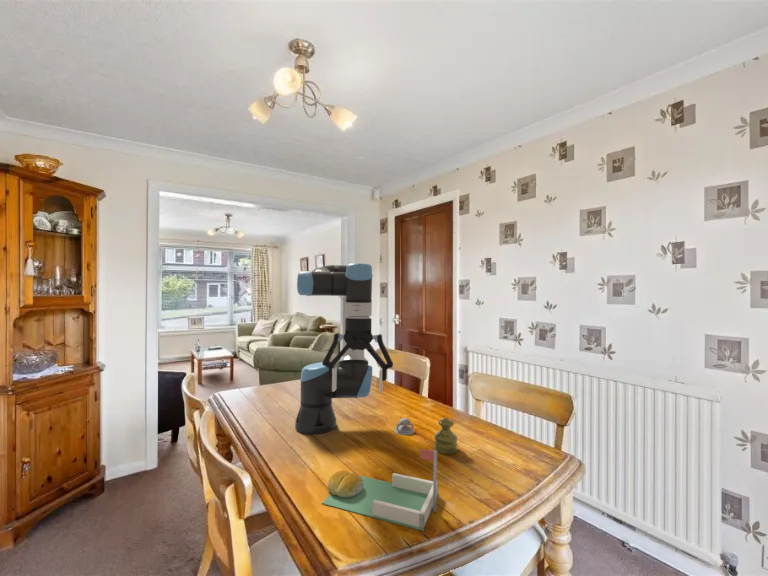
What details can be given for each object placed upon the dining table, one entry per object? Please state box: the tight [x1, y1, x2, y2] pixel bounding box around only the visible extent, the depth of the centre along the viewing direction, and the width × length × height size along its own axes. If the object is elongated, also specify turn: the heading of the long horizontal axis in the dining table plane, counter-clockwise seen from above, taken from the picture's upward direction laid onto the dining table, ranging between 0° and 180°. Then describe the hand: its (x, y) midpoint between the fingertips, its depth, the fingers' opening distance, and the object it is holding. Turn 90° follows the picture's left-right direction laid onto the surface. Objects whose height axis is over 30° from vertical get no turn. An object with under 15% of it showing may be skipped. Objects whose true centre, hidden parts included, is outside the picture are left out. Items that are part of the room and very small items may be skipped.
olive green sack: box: [433, 417, 458, 455], centre depth 117 cm, size 7×7×10 cm
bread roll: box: [327, 469, 364, 498], centre depth 92 cm, size 8×9×4 cm
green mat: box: [321, 475, 439, 531], centre depth 89 cm, size 25×15×1 cm, turn 69°
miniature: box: [393, 417, 415, 436], centre depth 131 cm, size 8×8×5 cm
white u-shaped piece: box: [372, 448, 439, 529], centre depth 86 cm, size 13×14×14 cm
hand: (357, 391), depth 103 cm, fingers open, 13 cm apart
